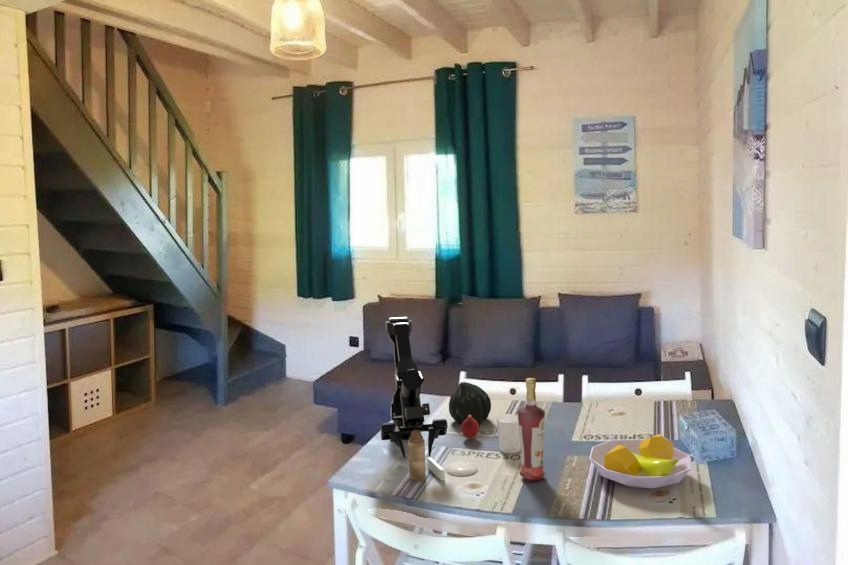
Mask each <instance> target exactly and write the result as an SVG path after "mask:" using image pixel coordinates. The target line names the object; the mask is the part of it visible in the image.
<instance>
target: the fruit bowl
mask: <svg viewBox="0 0 848 565" xmlns="http://www.w3.org/2000/svg"><path fill="white" fill-rule="evenodd" d="M588 458H589V460H590V461H591V463H592V464H593V466H594V468H596V470H597V472H598V473H599V474H600V475H601V477H603V478H606V479H608V480H611V481H613V482H616V483H619V484H621V485H624V486H627V487H628V488H639V489H640V488H643V489H657V488H661V487H666V486H670V485H675V484H679V483H681V481H682V480H683V479H684V478H685V476H686V475H687V474H688V473H689V472H690V471H691V469H692V463H691V462H692V461H691V456H690V455H689V454H687V453H685V452H683V451H682V450H680V449H678V448H677V447H674V443H673V441H671V440H669V439H668V438H667V437H665V436H664V435H662V434H661V433H658V434H656V435H653V436H650V437H647V438H644V439H638V438H637V439H611V440H608V441H605V442H603V443H600V444H597V445H594V446H592V448H591V450H590V455H589V457H588Z"/></svg>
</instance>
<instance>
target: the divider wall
mask: <svg viewBox="0 0 848 565" xmlns="http://www.w3.org/2000/svg"><path fill="white" fill-rule="evenodd" d="M427 469H428V470H430V471H431V473H433V475H435V477H436V478H438V479H439V480H440V481H441V482H442V481H445V478H446V476H445V475H446V474H445V469H444V468H443V467H442V466H441V465H440V464H439V463H437V461H435V460H434V459H433V457H431V456H430V457H429V456H428V457H427Z"/></svg>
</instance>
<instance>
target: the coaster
mask: <svg viewBox="0 0 848 565" xmlns="http://www.w3.org/2000/svg"><path fill="white" fill-rule="evenodd" d="M445 471H446V473H448V474H450V475H452V476H456V477H466V476H467V477H469V476H471V475H474V474H476V473H477V472H478V466H477V465H476V464H475V463H473V462H467V461H455V462H453V463H452V462H451V463H449V464H447V466H446V468H445Z"/></svg>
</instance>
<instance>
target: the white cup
mask: <svg viewBox="0 0 848 565" xmlns="http://www.w3.org/2000/svg"><path fill="white" fill-rule="evenodd" d="M496 426H497V427H496V428H497V429H496V430H497V439H498V445H499V447H498V449H499V451H500V452H502V453H504V454H518V453H520V438H519V425H518V414H513V413H506V414H501V415H498V416H497V417H496Z"/></svg>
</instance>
